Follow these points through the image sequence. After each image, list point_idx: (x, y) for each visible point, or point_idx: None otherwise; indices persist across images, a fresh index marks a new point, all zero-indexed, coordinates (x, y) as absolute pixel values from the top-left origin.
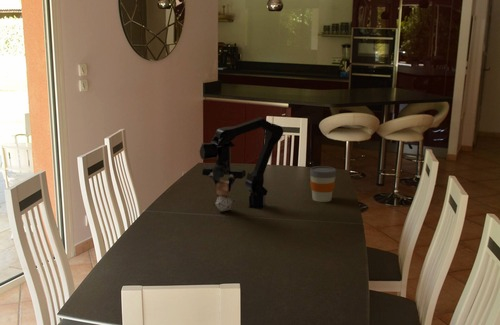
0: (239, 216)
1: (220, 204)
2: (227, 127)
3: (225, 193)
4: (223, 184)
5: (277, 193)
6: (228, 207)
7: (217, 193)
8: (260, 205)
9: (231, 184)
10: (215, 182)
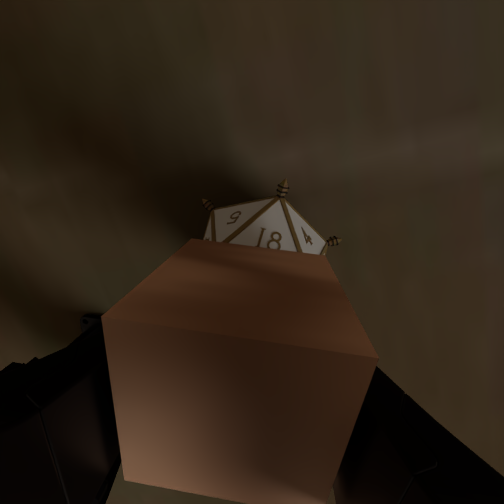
0: (144, 170)
1: (270, 198)
2: None
3: (207, 247)
4: (196, 323)
5: (114, 482)
6: (210, 202)
7: (316, 258)
8: (88, 334)
9: (62, 363)
10: (415, 419)
